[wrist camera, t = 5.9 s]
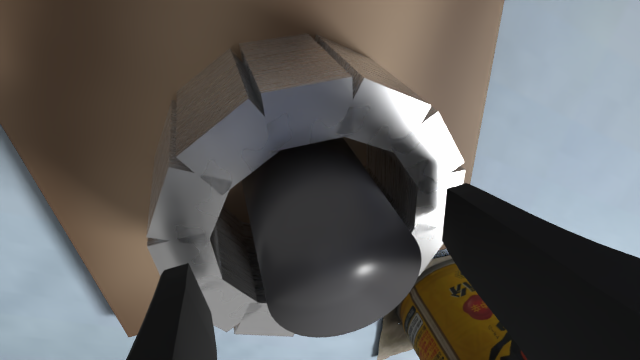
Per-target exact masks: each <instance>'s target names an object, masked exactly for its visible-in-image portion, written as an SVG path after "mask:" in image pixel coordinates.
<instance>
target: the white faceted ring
mask: <svg viewBox="0 0 640 360" xmlns="http://www.w3.org/2000/svg"><path fill="white" fill-rule="evenodd" d="M239 46H240V51H241V56H242V61H241V60H240V59H239V58H238V57H237V55H236V54H235V53H234V52H233V51H232V50H231V48H229V49H228V50H226V51H225V52H224V53H223V54H222V55H220V56H219V57H218V58H217V59H216V60H214V61H213V62H212V63H211V64H210V65H208V66H207V67H206V68H205V69H204V70H202V71H201V72H200V73H199V74H198V75H196V76H195V77H194V78H193V79H191V80H190V81H189V82H188V83H187V84H185V85H184V86H183V87H182V88H181V89H179V90H178V91H177V101H175V100H171V103H170V107H169V110H168V113H167V117H166V120H165V123H164V127H163V130H162V133H161V137H160V140H159V143H158V147H157V150H156V154H155V157H154V167H153V177H152V187H151V196H150V206H149V216H148V226H147V236H146V237H148V240H147V248H148V250H149V252H150V254H151V257H152V259H153V261H154V263H155V265H156V268H157V270H158V272H159V274H160V276H161V274H162V272H163V271H164V270H166V269H169V268H173V267H176V266H180V265H183V264H187V263H189V265H190V267H191V269H192V271H193V274H194V276H195V278H196V280H197V282H198V285H199V287H200V289H201V291H202V293H203V295H204V298H205V300H206V302H207V304H208V306H209V309H210V311H211V314H212V321H213V325H214V326H216V327H218V328H220V329H222V330H223V331H225V332H227V331H229V330H230V329H232V328H233V327H234V334H243V335H267V336H291V337H293V336H294V334H295V333H292V332H290V331H288V330H286V329H284V328H283V327H281V326H280V325H279V324H278V323H277V322H276V321H275V320H274V319H273V317H272V316H271V314H270V312H269V310H268V306H267V302H266V297H265V292H264V287H263V282H262V278H261V273H260V268H259V263H258V258H257V254H256V249H255V244H254V239H253V234H252V229H251V225H250V223H245V222H242V221H240V220H239V219H238V218H237V217H235V216H234V215H233V214H232V213H230V212H229V211H228V210H227V209H225V208H224V207H223V205H224V202H225V200H226V197H227V195H228V192H229V190H230V189H231V188H232V187H234V186H235V185H236V184H237V183H239V182H240V181H241V180H243V179H244V178H245V177H247V176H248V175H249V174H250V173H252V172H253V171H254V170H256V169H257V168H258V167H259V166H261V165H262V164H263V163H265V162H266V161H267V160H269V159H270V158H271V157H272V156H274V155H275V154H276V153H278V152H279V151H280V150H283V149H288V148H293V147H298V146H302V145H307V144H312V143H317V142H322V141H326V140H331V139H336V138H341V137H347V138H350V139H353V140H356V141H359V142H362V143H365V144H367V164H366V166H365V169H366V170H367V172H368V173H369V175H370V176H371V177H372V179H373V180H374V182H375V183H376V184H377V186H378V187H379V189H380V190H381V191H382V193H383V194H384V196H385V197H386V198H387V200H388V201H389V203H390V204H391V205H392V207H393V208H394V210H395V211H396V212H397V214H398V215H399V217H400V218H401V219H402V221H403V222H404V224H405V225H406V226H407V228H408V229H409V231H410V232H411V233H412V235H413V236H414V238H415V239H416V241H417V243H418V245H419V247H420V251H421V268H420V272H419V275H418V276H420V275H421V273H422V272H423V271H424V269H425V268H426V266H427V265H428V264H429V262H430V261H431V260H432V258H433V257H434V256H435V254H436V253H437V251H438V250H439V249H440V247H441V246H442V245H443V242H442V234H443V224H444V213H445V202H446V192H447V188H450V187H454V186H457V185H461V184H463V180H464V174H465V169H464V168H462V167H461V166H460V165H461V164H463V163H464V161H463V159H462V157H461V155H460V153H459V151H458V149H457V147H456V145H455V143H454V141H453V139H452V137H451V136H450V134H449V132H448V130H447V128H446V126H445V124H444V122H443V120H442V118H441V116H440V114H439V112H438V111H437V110H435V109H434V108H433V107H432V106H431V105H430V104H429V103H427V102H426V101H425V100H424V99H422V98H421V97H420V96H419V95H417V94H416V93H415V92H413V91H412V90H411V89H410V88H408V87H407V86H406V85H404V84H403V83H402V82H401V81H399V80H398V79H397V78H395V77H394V76H393V75H392V74H390V73H389V72H388V71H386V70H385V69H384V68H383V67H381V66H380V65H379V64H377V63H376V62H375V61H374V60H372V59H371V58H369V57H366V56H364V55H362V54H360V53H357V52H355V51H353V50H351V49H348V48H346V47H344V46H342V45H339V44H337V43H335V42H333V41H330V40H328V39H326V38H324V37H321V36H319V35H317V34H316V37H315V39H313V38H312V37H311V36H310V35H309V34H308V33H305V34H298V35H292V36H285V37H279V38H272V39H265V40H259V41H252V42H246V43H239ZM242 62H243V63H242Z"/></svg>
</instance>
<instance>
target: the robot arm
mask: <svg viewBox="0 0 640 360" xmlns="http://www.w3.org/2000/svg"><path fill="white" fill-rule="evenodd" d="M442 242H443V243H444V245H445V247H446V249H447V250H448V252H449V254H450V256H451V257H452V259H453V261H454V262H455V264H456V265H457V267H458V269H459V270H460V272H461V273H462V274H463V276H464V277H465V278H466V279H467V281H468V282H469V283H470V285H471V286H472V287H473V288H474V290H475V291H476V292H477V294H478V295H479V296H480V297H481V299H482V300H483V301H484V302H485V304H486V305H487V306H488V308H489V309H490V310H491V311H492V313H493V314H494V315H495V316H496V318H497V319H498V320H499V321H500V323H501V324H502V325H503V327H504V328H505V329H506V330H507V332H508V333H509V334H510V335H511V337H512V338H513V340H514V341H515V342H516V344H517V345H518V346H519V348H520V349H521V351H522V352H523V354H524V355H525V357H526V358H527V360H640V258H638V257H635V256H632V255H629V254H626V253H624V252H621V251H618V250H615V249H612V248H609V247H607V246H604V245H602V244H599V243H596V242H594V241H591V240H589V239H586V238H584V237H582V236H579V235H577V234H575V233H572V232H570V231H567V230H565V229H563V228H560V227H558V226H556V225H554V224H552V223H549V222H547V221H545V220H543V219H541V218H538V217H536V216H534V215H532V214H530V213H528V212H526V211H524V210H522V209H520V208H518V207H516V206H513V205H511V204H509V203H507V202H505V201H503V200H501V199H499V198H497V197H495V196H493V195H491V194H489V193H487V192H485V191H483V190H481V189H479V188H477V187H474V186H472V185H470V184H468V183H464V184H461V185H457V186H454V187H450V188H447V192H446V202H445V213H444V224H443V234H442ZM126 360H217V349H216V342H215V334H214V327H213V321H212V314H211V311H210V309H209V306H208V304H207V302H206V300H205V298H204V295H203V293H202V291H201V289H200V287H199V285H198V282H197V280H196V278H195V276H194V274H193V271H192V269H191V267H190V265H189V263H187V264H183V265H180V266H176V267H173V268H169V269H166V270H164V271H163V272H162V274H161V276H160V279H159V282H158V284H157V287H156V290H155V293H154V295H153V298H152V300H151V303H150V306H149V308H148V311H147V313H146V315H145V318H144V320H143V323H142V325H141V327H140V330H139V332H138V334H137V337H136V339H135V341H134V343H133V346H132V348H131V350H130V352H129V355H128V357H127V359H126Z"/></svg>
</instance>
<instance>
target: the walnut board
mask: <svg viewBox="0 0 640 360" xmlns="http://www.w3.org/2000/svg"><path fill="white" fill-rule="evenodd" d="M503 5H504V0H0V124H1V126H2V127H3V129H4V131H5V132H6V134H7V136H8V137H9V139H10V141H11V142H12V144H13V146H14V147H15V149H16V151H17V152H18V154H19V156H20V157H21V159H22V160H23V162H24V164H25V165H26V167H27V169H28V170H29V172H30V174H31V175H32V177H33V179H34V180H35V182H36V184H37V185H38V187H39V189H40V190H41V192H42V194H43V195H44V197H45V199H46V200H47V202H48V204H49V205H50V207H51V209H52V210H53V212H54V214H55V215H56V217H57V219H58V220H59V222H60V224H61V225H62V227H63V229H64V230H65V232H66V234H67V235H68V237H69V239H70V240H71V242H72V244H73V245H74V247H75V249H76V250H77V252H78V254H79V255H80V257H81V259H82V260H83V262H84V264H85V265H86V267H87V269H88V270H89V272H90V274H91V275H92V277H93V279H94V280H95V282H96V284H97V285H98V287H99V289H100V290H101V292H102V294H103V295H104V297H105V299H106V300H107V302H108V304H109V305H110V307H111V309H112V310H113V312H114V314H115V315H116V317H117V319H118V320H119V322H120V324H121V325H122V327H123V329H124V330H125V332H126V334H127V335H128V337H132V336H135V335H137V334H138V332H139V330H140V327H141V325H142V323H143V320H144V318H145V315H146V313H147V311H148V308H149V306H150V303H151V300H152V298H153V295H154V293H155V290H156V287H157V284H158V282H159V279H160V274H159V272H158V270H157V268H156V265H155V263H154V261H153V259H152V257H151V254H150V252H149V250H148V248H147V240H148V237H146V236H147V226H148V216H149V206H150V196H151V187H152V177H153V167H154V157H155V154H156V150H157V147H158V143H159V140H160V137H161V133H162V130H163V127H164V123H165V120H166V117H167V113H168V110H169V107H170V103H171V100H175V101H177V91H178V90H179V89H181V88H182V87H183V86H184V85H185V84H187V83H188V82H189V81H190V80H191V79H193V78H194V77H195V76H196V75H198V74H199V73H200V72H201V71H202V70H204V69H205V68H206V67H207V66H208V65H210V64H211V63H212V62H213V61H214V60H216V59H217V58H218V57H219V56H220V55H222V54H223V53H224V52H225V51H226V50H228V49H229V48H231V50H232V51H233V52H234V53H235V54H236V55H237V57H238V58H239V59H240V60H241V61H242V56H241V51H240V46H239V43H246V42H252V41H259V40H265V39H272V38H279V37H285V36H292V35H298V34H305V33H308V34H309V35H310V36H311V37H312V38H313V39H315V37H316V34H317V35H319V36H321V37H324V38H326V39H328V40H330V41H333V42H335V43H337V44H339V45H342V46H344V47H346V48H348V49H351V50H353V51H355V52H357V53H360V54H362V55H364V56H366V57H369V58H371V59H372V60H374V61H375V62H376V63H377V64H379V65H380V66H381V67H383V68H384V69H385V70H386V71H388V72H389V73H390V74H392V75H393V76H394V77H395V78H397V79H398V80H399V81H401V82H402V83H403V84H404V85H406V86H407V87H408V88H410V89H411V90H412V91H413V92H415V93H416V94H417V95H419V96H420V97H421V98H422V99H424V100H425V101H426V102H427V103H429V104H430V105H431V106H432V107H433V108H434V109H435V110H437V111H438V112H439V114H440V116H441V118H442V120H443V122H444V124H445V126H446V128H447V130H448V132H449V134H450V136H451V137H452V139H453V141H454V143H455V145H456V147H457V149H458V151H459V153H460V155H461V157H462V159H463V161H464V163H463V164H461V165H460V166H461V167H462V168H464V169H465V174H464V180H463V184H464V183H468V184H470V181H471V176H472V171H473V165H474V160H475V154H476V149H477V144H478V138H479V133H480V128H481V122H482V117H483V112H484V106H485V101H486V96H487V90H488V85H489V80H490V74H491V69H492V64H493V58H494V53H495V48H496V42H497V37H498V31H499V26H500V21H501V15H502V10H503ZM242 63H243V62H242ZM343 138H344V140H345V141H346V142H347V144H348V145H349V147H350V148H351V149H352V151H353V152H354V154H355V155H356V156H357V158H358V159H359V161H360V162H361V163H362V165H363V166H364V168H365V166H366V164H367V144H365V143H362V142H359V141H356V140H353V139H350V138H347V137H343ZM223 207H224V208H225V209H227V210H228V211H229V212H230V213H232V214H233V215H234V216H235V217H237V218H238V219H239V220H240V221H242V222H245V223H250V220H249V215H248V210H247V205H246V201H245V196H244V191H243V186H242V181H240V182H239V183H237V184H236V185H235V186H234V187H232V188H231V189H230V190H229V192H228V195H227V197H226V200H225V202H224V205H223ZM443 249H446V247H445V245H444V243H443V245H442V246H441V247H440V249H439V250H443ZM439 250H438V251H439Z"/></svg>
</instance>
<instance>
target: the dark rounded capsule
mask: <svg viewBox="0 0 640 360" xmlns="http://www.w3.org/2000/svg"><path fill="white" fill-rule="evenodd" d="M241 181H242V186H243V191H244V196H245V201H246V205H247V210H248V215H249V220H250V225H251V229H252V234H253V239H254V244H255V249H256V254H257V258H258V263H259V268H260V273H261V278H262V282H263V287H264V292H265V297H266V302H267V306H268V310H269V312H270V314H271V316H272V317H273V319H274V320H275V321H276V322H277V323H278V324H279V325H280V326H281V327H283V328H284V329H286V330H288V331H290V332H292V333H295V334H298V335H301V336H307V337H331V336H338V335H343V334H347V333H350V332H353V331H356V330H359V329H361V328H364V327H366V326H368V325H370V324H372V323H374V322H376V321H377V320H379V319H381V318H382V317H384V316H385V315H387V314H388V313H389V312H391V311H392V310H393V309H394V308H395V307H396V306H397V305H399V304H400V303H401V302H402V300H403V299H404V298H405V297H406V296H407V295H408V293H409V292H410V291H411V289H412V288H413V286H414V284H415V282H416V280H417V278H418V275H419V272H420V268H421V251H420V247H419V245H418V243H417V241H416V239H415V238H414V236H413V235H412V233H411V232H410V231H409V229H408V228H407V226H406V225H405V224H404V222H403V221H402V219H401V218H400V217H399V215H398V214H397V212H396V211H395V210H394V208H393V207H392V205H391V204H390V203H389V201H388V200H387V198H386V197H385V196H384V194H383V193H382V191H381V190H380V189H379V187H378V186H377V184H376V183H375V182H374V180H373V179H372V177H371V176H370V175H369V173H368V172H367V170H366V169H365V168H364V166H363V165H362V163H361V162H360V161H359V159H358V158H357V156H356V155H355V154H354V152H353V151H352V149H351V148H350V147H349V145H348V144H347V142H346V141H345V140H344V138H343V137H341V138H336V139H331V140H326V141H322V142H317V143H312V144H307V145H302V146H298V147H293V148H288V149H283V150H280V151H279V152H278V153H276V154H275V155H274V156H272V157H271V158H270V159H269V160H267V161H266V162H265V163H263V164H262V165H261V166H259V167H258V168H257V169H256V170H254V171H253V172H252V173H250V174H249V175H248V176H247V177H245V178H244V179H243V180H241Z"/></svg>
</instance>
